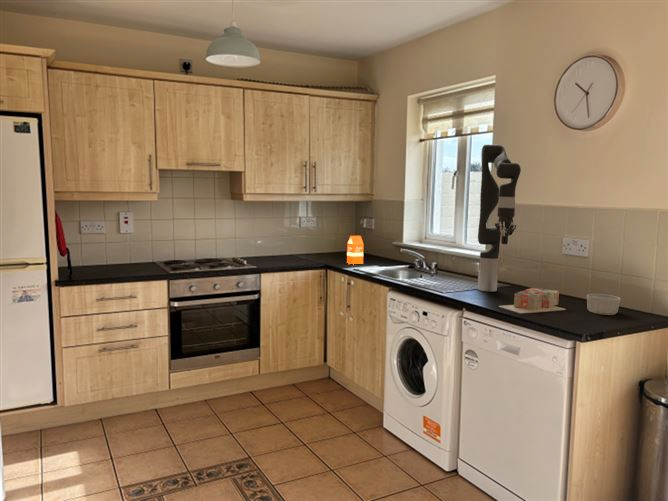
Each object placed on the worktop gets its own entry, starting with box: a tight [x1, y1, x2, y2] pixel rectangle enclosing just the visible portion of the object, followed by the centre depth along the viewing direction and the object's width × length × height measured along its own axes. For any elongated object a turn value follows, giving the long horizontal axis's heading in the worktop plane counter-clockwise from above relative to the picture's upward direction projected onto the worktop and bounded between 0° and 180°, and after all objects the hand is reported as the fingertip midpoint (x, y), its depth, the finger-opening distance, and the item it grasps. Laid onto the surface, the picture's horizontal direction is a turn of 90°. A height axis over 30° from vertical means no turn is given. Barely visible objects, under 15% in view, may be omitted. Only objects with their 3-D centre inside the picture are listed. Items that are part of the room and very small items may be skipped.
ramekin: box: [586, 293, 622, 316], centre depth 229 cm, size 13×13×7 cm
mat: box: [498, 304, 567, 314], centre depth 234 cm, size 14×25×1 cm, turn 111°
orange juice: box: [346, 235, 365, 266], centre depth 370 cm, size 8×9×20 cm
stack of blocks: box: [513, 287, 560, 310], centre depth 238 cm, size 21×6×12 cm
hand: (504, 244), depth 246 cm, fingers closed
